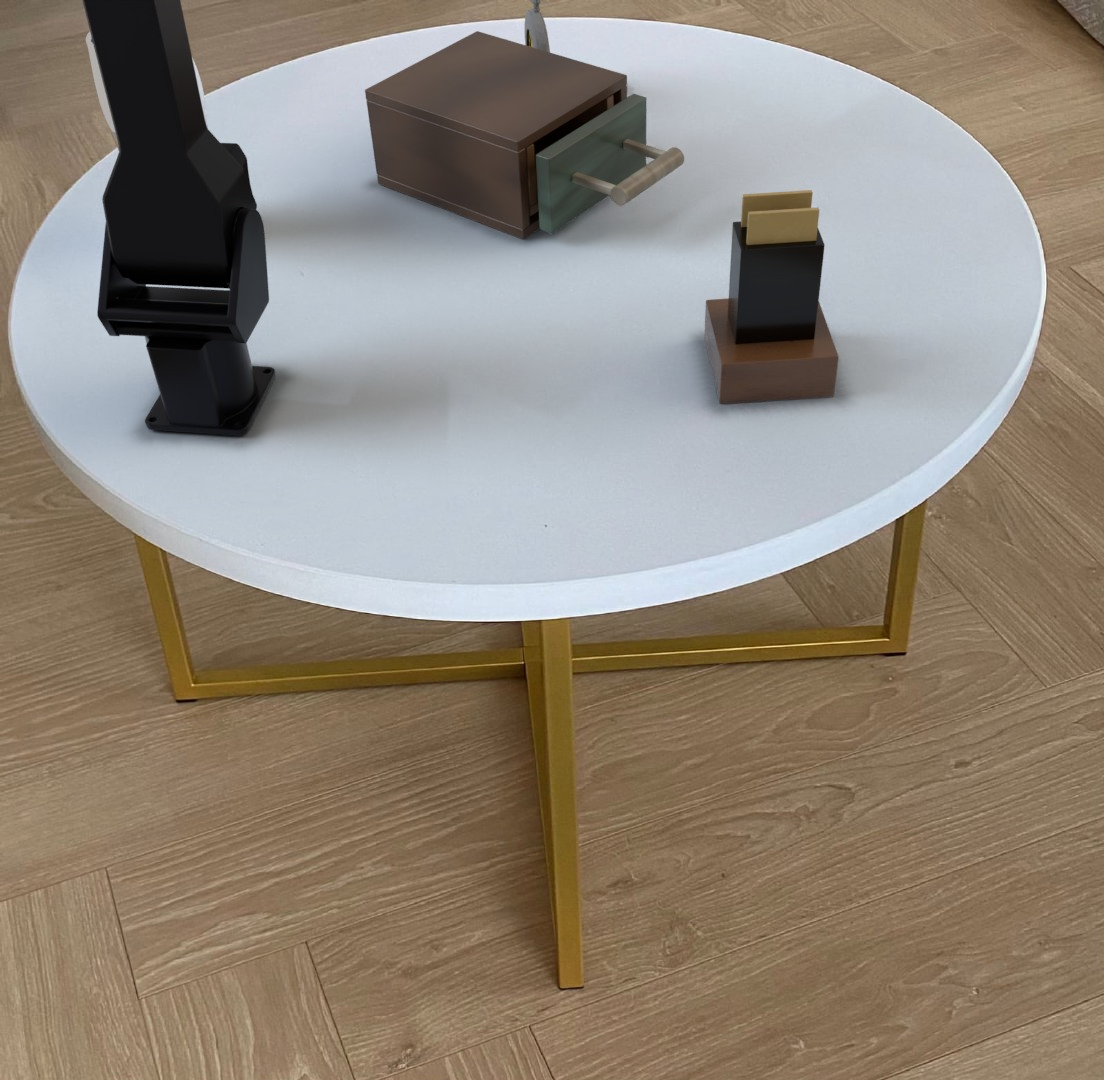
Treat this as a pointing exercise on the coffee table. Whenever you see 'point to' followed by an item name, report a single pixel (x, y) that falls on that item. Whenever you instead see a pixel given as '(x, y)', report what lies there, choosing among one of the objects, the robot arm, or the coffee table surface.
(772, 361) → the stand
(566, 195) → the drawer
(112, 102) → the robot arm
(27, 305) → the coffee table surface
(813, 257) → the black toaster with toast
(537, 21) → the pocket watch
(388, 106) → the cabinet
